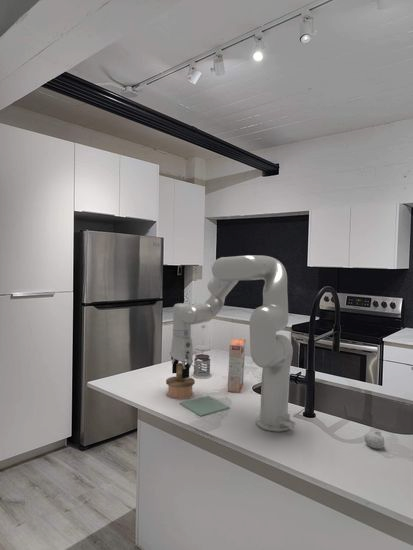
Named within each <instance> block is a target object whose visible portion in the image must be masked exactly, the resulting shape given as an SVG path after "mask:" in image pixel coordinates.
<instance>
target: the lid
mask: <svg viewBox="0 0 413 550" xmlns="http://www.w3.org/2000/svg"><path fill="white" fill-rule="evenodd" d="M182 369H183V364H182V362H179V363H177V369H176V373H175V375H176V376H170V377H168V378H166V380H165V383H166V385H167V386H168V385H169V386H172V387H189V386H192V387H193V386H194V385H195V383H196V382H195V381H196V380H195V379H194V378H193V377H190V376H189V377H188V378H182Z"/></svg>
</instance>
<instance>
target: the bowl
mask: <svg viewBox="0 0 413 550" xmlns="http://www.w3.org/2000/svg"><path fill="white" fill-rule="evenodd" d="M167 386H168V387H167V389H168V390H167V394H168V395H167V396H169V397H170V398H173V399H179V400H180V399H181V400H184V399H187V398H190V397H192V396H193V385H192V386H189V387H172V386H169V385H167Z"/></svg>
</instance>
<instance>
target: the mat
mask: <svg viewBox="0 0 413 550" xmlns="http://www.w3.org/2000/svg"><path fill="white" fill-rule="evenodd" d="M179 405H180V406H182V407H184V408H185V409H187V410H188V411H190V412H192V413H194V414H195V415H197V416H199V417H203V416H208V415H212V414H216V413H219V412H223V411H225V410H229V409H231V407H230V406H228V405H227V404H225V403H223V402H221V401H219V400H218V399H215V398H213V397H212V396H210V395H206V396H202V397H198V398H193V399H190V400H189V399H188V400H185V401H181V402H179Z"/></svg>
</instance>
